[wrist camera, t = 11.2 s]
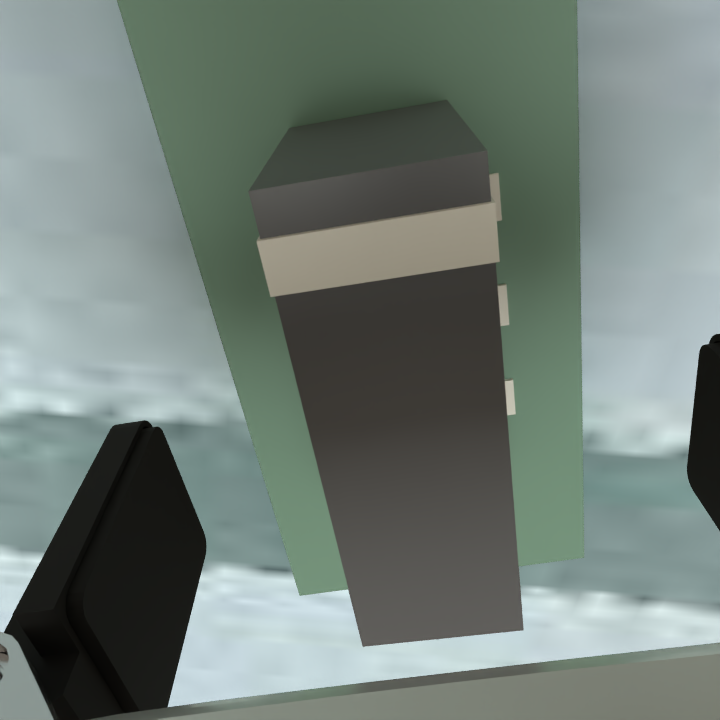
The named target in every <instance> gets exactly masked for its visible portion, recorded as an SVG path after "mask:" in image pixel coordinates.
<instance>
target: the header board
mask: <svg viewBox="0 0 720 720" xmlns="http://www.w3.org/2000/svg"><path fill="white" fill-rule="evenodd" d="M117 2H118V5H119V9H120V12H121V15H122V18H123V22H124V25H125V28H126V31H127V35H128V38H129V41H130V45H131V48H132V51H133V54H134V58H135V61H136V64H137V67H138V71H139V74H140V77H141V80H142V84H143V87H144V90H145V93H146V97H147V100H148V103H149V106H150V110H151V113H152V116H153V119H154V123H155V126H156V129H157V132H158V136H159V139H160V142H161V145H162V149H163V152H164V155H165V158H166V162H167V165H168V168H169V172H170V175H171V178H172V181H173V185H174V188H175V191H176V194H177V198H178V201H179V204H180V207H181V211H182V214H183V217H184V220H185V224H186V227H187V230H188V233H189V237H190V240H191V243H192V246H193V250H194V253H195V256H196V259H197V263H198V266H199V269H200V272H201V276H202V279H203V282H204V285H205V289H206V292H207V295H208V298H209V302H210V305H211V308H212V312H213V315H214V318H215V321H216V325H217V328H218V331H219V334H220V338H221V341H222V344H223V347H224V351H225V354H226V357H227V360H228V364H229V367H230V370H231V373H232V377H233V380H234V383H235V386H236V390H237V393H238V396H239V399H240V403H241V406H242V409H243V412H244V416H245V419H246V422H247V425H248V429H249V432H250V435H251V439H252V442H253V445H254V448H255V452H256V455H257V458H258V461H259V465H260V468H261V471H262V474H263V478H264V481H265V484H266V487H267V491H268V494H269V497H270V500H271V504H272V507H273V510H274V513H275V517H276V520H277V523H278V526H279V530H280V533H281V536H282V539H283V543H284V546H285V549H286V552H287V556H288V559H289V562H290V566H291V569H292V572H293V575H294V579H295V582H296V585H297V588H298V592H299V595H300V596H301V595H309V594H316V593H324V592H331V591H339V590H346V589H348V586H347V582H346V578H345V574H344V570H343V566H342V562H341V558H340V554H339V550H338V546H337V542H336V538H335V534H334V530H333V526H332V522H331V518H330V514H329V510H328V506H327V502H326V498H325V494H324V490H323V486H322V482H321V478H320V474H319V470H318V467H317V463H316V459H315V455H314V451H313V447H312V443H311V439H310V435H309V431H308V427H307V423H306V419H305V415H304V411H303V407H302V403H301V399H300V395H299V391H298V387H297V383H296V379H295V375H294V371H293V367H292V363H291V359H290V355H289V351H288V347H287V343H286V339H285V335H284V331H283V327H282V323H281V319H280V315H279V311H278V307H277V303H276V299H275V297H270V293H269V289H268V285H267V281H266V277H265V273H264V269H263V265H262V261H261V257H260V253H259V250H258V246H257V242H256V241H257V239H258V237H259V232H258V228H257V224H256V220H255V216H254V212H253V208H252V204H251V200H250V196H249V192H248V191H249V189H250V188H251V186H252V185H253V183H254V182H255V180H256V179H257V177H258V175H259V174H260V172H261V171H262V169H263V168H264V166H265V165H266V163H267V162H268V160H269V158H270V157H271V155H272V154H273V152H274V151H275V149H276V148H277V146H278V144H279V143H280V141H281V140H282V138H283V137H284V135H285V134H286V132H287V130H288V129H289V128H292V127H298V126H303V125H309V124H314V123H320V122H326V121H331V120H337V119H342V118H348V117H354V116H359V115H365V114H371V113H376V112H382V111H387V110H393V109H399V108H404V107H410V106H415V105H421V104H427V103H432V102H438V101H444V100H448V102H449V103H450V104H451V105H452V107H453V108H454V109H455V110H456V112H457V113H458V114H459V115H460V117H461V118H462V119H463V120H464V122H465V123H466V124H467V125H468V127H469V128H470V129H471V131H472V132H473V133H474V134H475V136H476V137H477V138H478V139H479V141H480V142H481V143H482V144H483V146H484V147H485V148H486V149H487V151H488V165H489V178H490V191H491V196H492V198H493V200H494V201H495V203H496V217H497V231H498V245H499V259H500V262H496V271H497V285H498V298H499V311H500V325H501V338H502V351H503V365H504V378H505V391H506V405H507V418H508V431H509V444H510V458H511V471H512V484H513V498H514V511H515V524H516V538H517V551H518V564H519V566H525V565H532V564H540V563H547V562H555V561H562V560H570V559H577V558H584V512H583V435H582V358H581V281H580V204H579V127H578V50H577V0H117Z"/></svg>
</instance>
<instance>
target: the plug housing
mask: <svg viewBox="0 0 720 720" xmlns="http://www.w3.org/2000/svg"><path fill="white" fill-rule="evenodd" d="M248 192H249V196H250V200H251V204H252V208H253V212H254V216H255V220H256V224H257V228H258V232H259V237H258V239H257V241H256V242H257V246H258V250H259V253H260V257H261V261H262V265H263V269H264V273H265V277H266V281H267V285H268V289H269V293H270V297H275V299H276V303H277V307H278V311H279V315H280V319H281V323H282V327H283V331H284V335H285V339H286V343H287V347H288V351H289V355H290V359H291V363H292V367H293V371H294V375H295V379H296V383H297V387H298V391H299V395H300V399H301V403H302V407H303V411H304V415H305V419H306V423H307V427H308V431H309V435H310V439H311V443H312V447H313V451H314V455H315V459H316V463H317V467H318V470H319V474H320V478H321V482H322V486H323V490H324V494H325V498H326V502H327V506H328V510H329V514H330V518H331V522H332V526H333V530H334V534H335V538H336V542H337V546H338V550H339V554H340V558H341V562H342V566H343V570H344V574H345V578H346V582H347V586H348V590H349V594H350V598H351V602H352V606H353V610H354V614H355V618H356V622H357V626H358V630H359V634H360V638H361V641H362V645H363V647H364V646H373V645H383V644H393V643H403V642H413V641H422V640H432V639H442V638H452V637H461V636H471V635H481V634H491V633H501V632H510V631H520V630H523V618H522V604H521V591H520V578H519V564H518V551H517V538H516V524H515V511H514V498H513V484H512V471H511V458H510V444H509V431H508V418H507V405H506V391H505V378H504V365H503V351H502V338H501V325H500V311H499V298H498V285H497V271H496V262H500V259H499V245H498V231H497V217H496V203H495V201H494V200H493V198H492V196H491V191H490V178H489V165H488V151H487V149H486V148H485V147H484V146H483V144H482V143H481V142H480V141H479V139H478V138H477V137H476V136H475V134H474V133H473V132H472V131H471V129H470V128H469V127H468V125H467V124H466V123H465V122H464V120H463V119H462V118H461V117H460V115H459V114H458V113H457V112H456V110H455V109H454V108H453V107H452V105H451V104H450V103H449V102H448V100H444V101H438V102H432V103H427V104H421V105H415V106H410V107H404V108H399V109H393V110H387V111H382V112H376V113H371V114H365V115H359V116H354V117H348V118H342V119H337V120H331V121H326V122H320V123H314V124H309V125H303V126H298V127H292V128H289V129H288V130H287V132H286V134H285V135H284V137H283V138H282V140H281V141H280V143H279V144H278V146H277V148H276V149H275V151H274V152H273V154H272V155H271V157H270V158H269V160H268V162H267V163H266V165H265V166H264V168H263V169H262V171H261V172H260V174H259V175H258V177H257V179H256V180H255V182H254V183H253V185H252V186H251V188H250V189H249V191H248Z"/></svg>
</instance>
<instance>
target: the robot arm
mask: <svg viewBox="0 0 720 720" xmlns="http://www.w3.org/2000/svg"><path fill="white" fill-rule="evenodd" d="M687 474H688V479H689V483H690V485H691V487H692V489H693V491H694V493H695V494H696V496H697V497H698V499H699V500H700V502H701V503H702V505H703V506H704V508H705V509H706V511H707V512H708V514H709V515H710V517H711V518H712V520H713V521H714V523H715V524H716V526H717V527H718V529H719V530H720V334H715V335H714V336H712V338H711V340H710V342H709V344H707V345H703V346H702V347H701V349H700V353H699V360H698V370H697V379H696V389H695V398H694V407H693V417H692V426H691V435H690V445H689V454H688V464H687ZM205 555H206V538H205V534H204V531H203V529H202V526H201V524H200V522H199V519H198V517H197V514H196V512H195V509H194V507H193V504H192V502H191V499H190V497H189V494H188V492H187V490H186V487H185V485H184V482H183V480H182V477H181V475H180V472H179V470H178V467H177V465H176V462H175V460H174V457H173V455H172V453H171V450H170V448H169V445H168V443H167V440H166V438H165V435H164V433H163V431H162V430H161V428H160V427H152V425H151V424H150V423H149V422H148V421H138V422H131V423H125V424H118V425H114V426H113V427H112V428H111V429H110V431H109V433H108V435H107V437H106V439H105V441H104V443H103V444H102V446H101V448H100V450H99V452H98V454H97V456H96V458H95V460H94V462H93V463H92V465H91V467H90V469H89V471H88V473H87V475H86V477H85V479H84V480H83V482H82V484H81V486H80V488H79V490H78V492H77V494H76V496H75V497H74V499H73V501H72V503H71V505H70V507H69V509H68V511H67V513H66V514H65V516H64V518H63V520H62V522H61V524H60V526H59V528H58V530H57V532H56V533H55V535H54V537H53V539H52V541H51V543H50V545H49V547H48V549H47V550H46V552H45V554H44V556H43V558H42V560H41V562H40V564H39V566H38V567H37V569H36V571H35V573H34V575H33V577H32V579H31V581H30V583H29V584H28V586H27V588H26V590H25V592H24V594H23V596H22V598H21V600H20V601H19V603H18V605H17V607H16V609H15V611H14V613H13V616H12V618H11V620H10V622H9V624H8V626H7V627H6V629H5V631H4V633H2V632H0V720H720V643H712V644H703V645H694V646H684V647H675V648H666V649H657V650H648V651H639V652H630V653H621V654H612V655H602V656H593V657H584V658H575V659H566V660H558V661H549V662H540V663H531V664H523V665H514V666H505V667H496V668H488V669H479V670H470V671H461V672H453V673H444V674H436V675H427V676H418V677H410V678H401V679H393V680H384V681H375V682H367V683H359V684H350V685H342V686H334V687H326V688H317V689H309V690H301V691H293V692H284V693H276V694H268V695H259V696H251V697H243V698H235V699H226V700H218V701H211V702H203V703H196V704H189V705H182V706H174V707H168V703H169V699H170V695H171V691H172V687H173V683H174V679H175V675H176V671H177V667H178V663H179V659H180V655H181V651H182V647H183V643H184V639H185V635H186V631H187V627H188V623H189V619H190V615H191V611H192V607H193V603H194V599H195V595H196V591H197V587H198V583H199V579H200V575H201V571H202V567H203V563H204V559H205Z"/></svg>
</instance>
